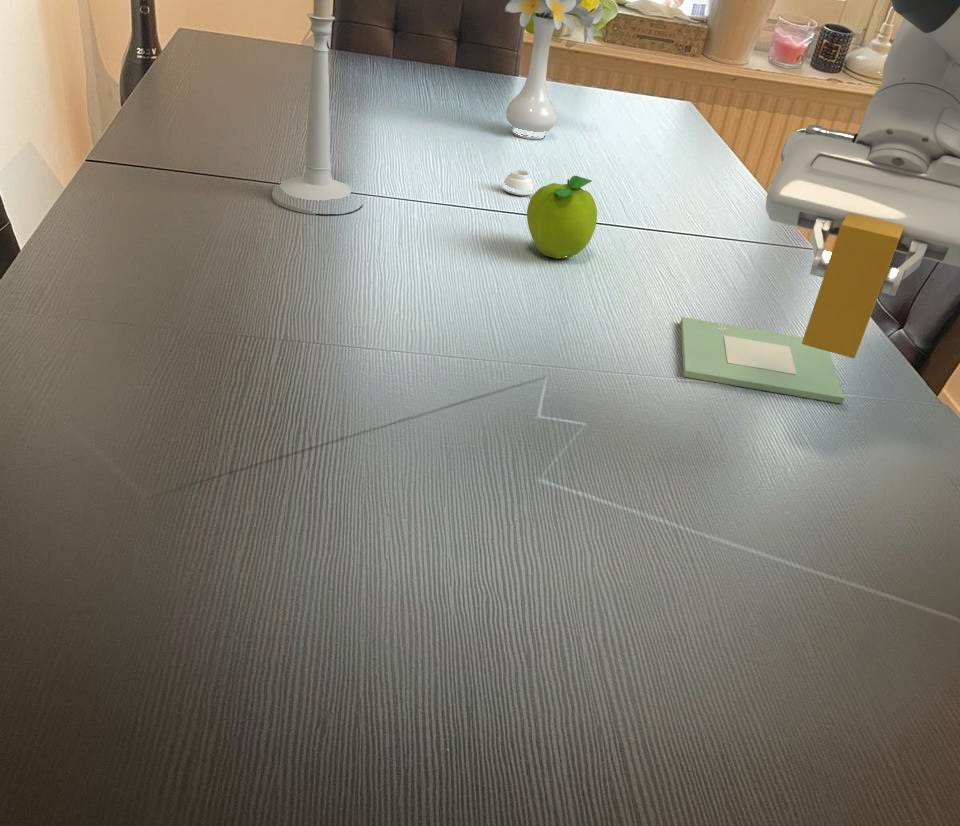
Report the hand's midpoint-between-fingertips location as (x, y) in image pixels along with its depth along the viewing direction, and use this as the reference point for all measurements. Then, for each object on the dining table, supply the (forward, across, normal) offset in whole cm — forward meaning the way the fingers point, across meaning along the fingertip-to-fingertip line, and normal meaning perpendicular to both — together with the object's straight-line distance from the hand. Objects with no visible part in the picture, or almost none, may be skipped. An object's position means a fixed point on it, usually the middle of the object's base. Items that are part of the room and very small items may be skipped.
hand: (853, 282), depth 92 cm
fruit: (-14, -40, +39) cm, 57 cm away
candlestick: (-11, -75, +36) cm, 84 cm away
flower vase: (-55, -66, +80) cm, 117 cm away
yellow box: (+4, 0, +5) cm, 6 cm away
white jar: (-30, -55, +55) cm, 83 cm away
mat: (-2, -8, +27) cm, 28 cm away
